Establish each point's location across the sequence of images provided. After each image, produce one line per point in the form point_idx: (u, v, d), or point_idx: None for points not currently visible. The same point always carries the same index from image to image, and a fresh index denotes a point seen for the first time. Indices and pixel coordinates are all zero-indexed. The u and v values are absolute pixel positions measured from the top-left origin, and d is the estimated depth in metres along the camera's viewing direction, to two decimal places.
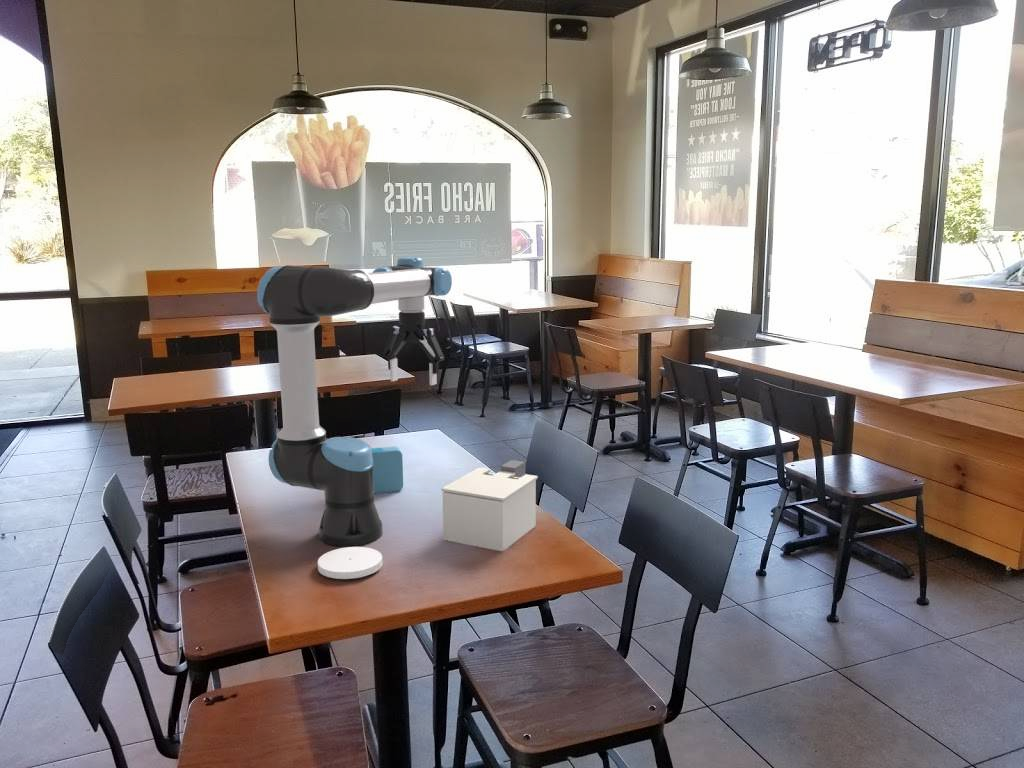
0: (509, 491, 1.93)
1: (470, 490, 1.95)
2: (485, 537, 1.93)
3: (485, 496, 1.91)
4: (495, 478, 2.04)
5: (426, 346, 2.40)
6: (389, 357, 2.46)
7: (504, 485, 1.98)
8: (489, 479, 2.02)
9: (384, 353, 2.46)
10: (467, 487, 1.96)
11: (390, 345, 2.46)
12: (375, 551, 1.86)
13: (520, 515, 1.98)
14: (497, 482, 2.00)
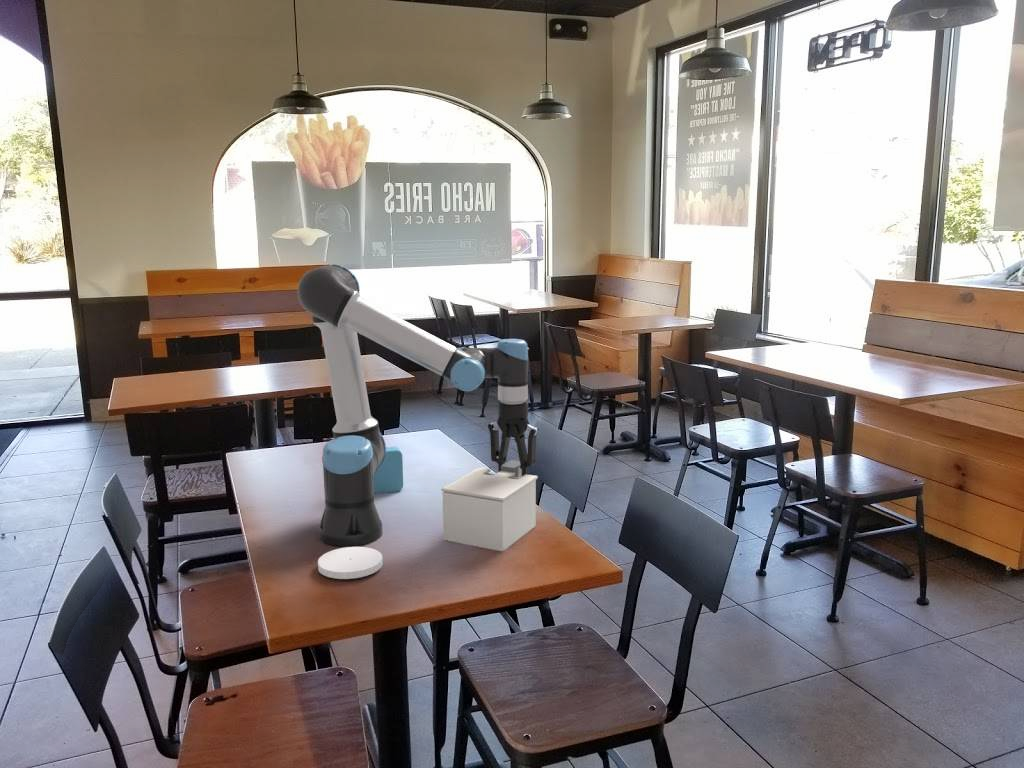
0: (509, 491, 1.93)
1: (470, 490, 1.95)
2: (485, 537, 1.93)
3: (485, 496, 1.91)
4: (495, 478, 2.04)
5: (522, 446, 2.08)
6: (500, 462, 2.11)
7: (504, 485, 1.98)
8: (489, 479, 2.02)
9: (493, 457, 2.12)
10: (467, 487, 1.96)
11: (496, 445, 2.12)
12: (375, 551, 1.86)
13: (520, 515, 1.98)
14: (497, 482, 2.00)
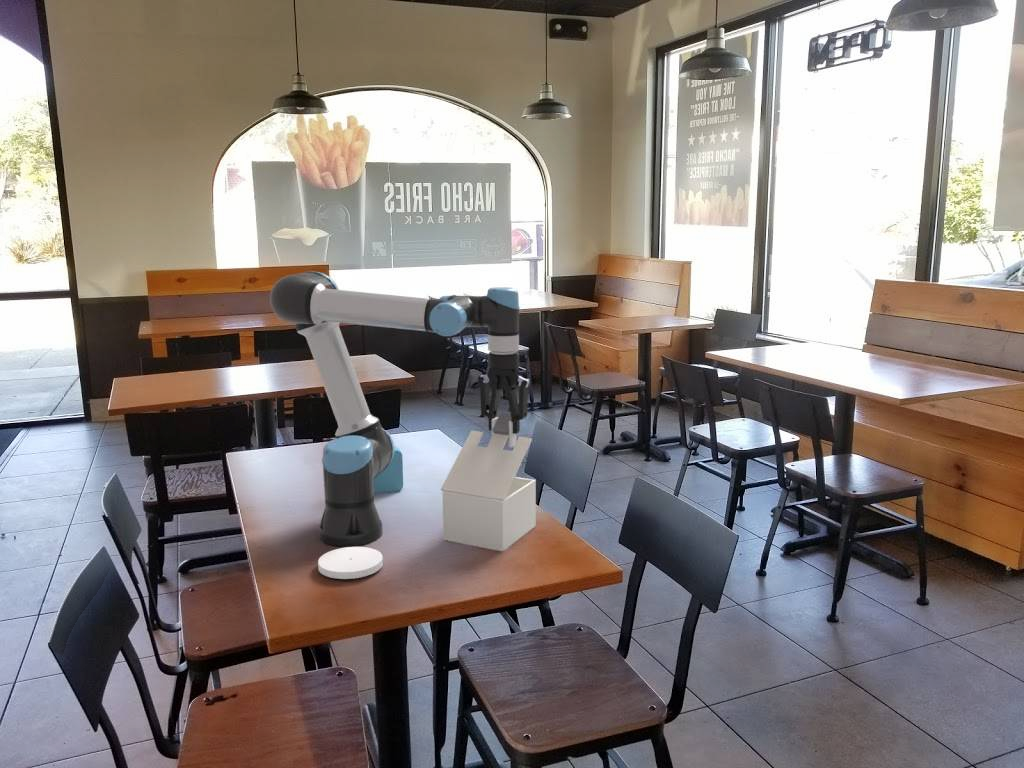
0: (506, 482, 1.92)
1: (468, 487, 1.94)
2: (485, 537, 1.93)
3: (485, 496, 1.91)
4: (489, 452, 2.00)
5: (513, 399, 2.01)
6: (490, 415, 2.04)
7: (500, 468, 1.95)
8: (484, 458, 1.99)
9: (483, 410, 2.05)
10: (465, 481, 1.95)
11: (486, 398, 2.05)
12: (375, 551, 1.86)
13: (520, 515, 1.98)
14: (492, 463, 1.97)
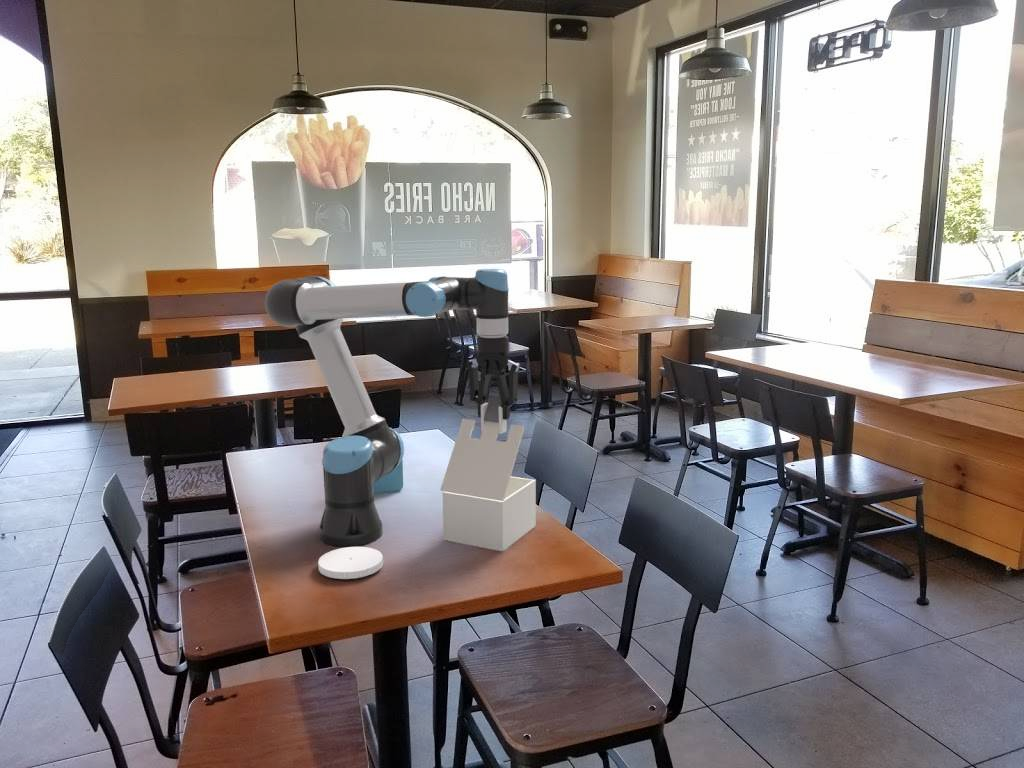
0: (504, 480, 1.90)
1: (467, 486, 1.93)
2: (485, 537, 1.93)
3: (484, 497, 1.91)
4: (484, 444, 1.97)
5: (503, 384, 1.96)
6: (479, 401, 1.98)
7: (496, 463, 1.93)
8: (479, 451, 1.96)
9: (472, 396, 1.99)
10: (463, 480, 1.94)
11: (475, 384, 1.99)
12: (376, 551, 1.86)
13: (520, 515, 1.98)
14: (488, 457, 1.95)
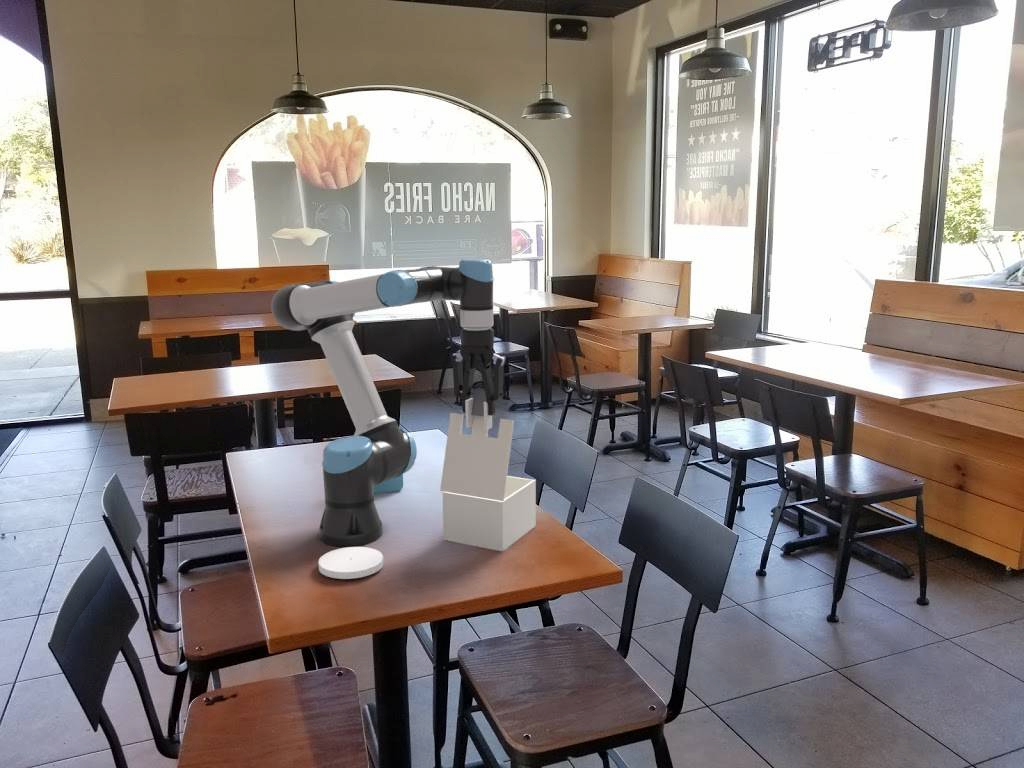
0: (501, 479, 1.89)
1: (466, 487, 1.93)
2: (485, 537, 1.93)
3: (484, 497, 1.91)
4: (476, 441, 1.93)
5: (488, 378, 1.89)
6: (464, 396, 1.91)
7: (491, 461, 1.91)
8: (472, 449, 1.93)
9: (456, 391, 1.92)
10: (461, 480, 1.93)
11: (459, 378, 1.92)
12: (376, 551, 1.86)
13: (520, 515, 1.98)
14: (482, 455, 1.92)
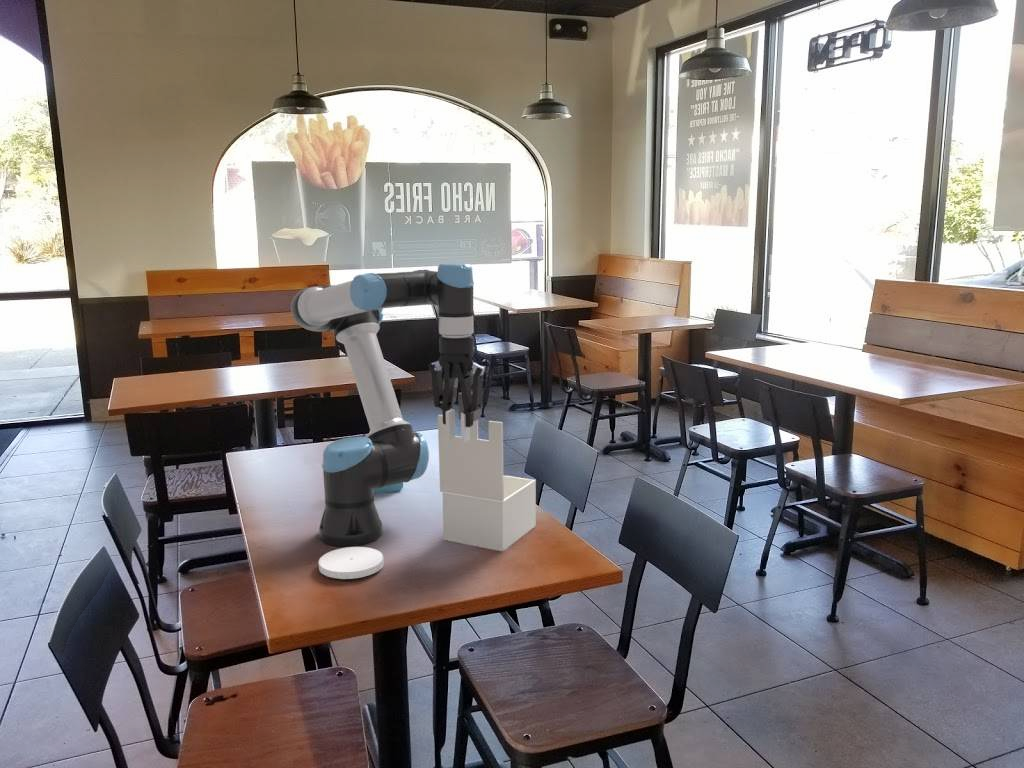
0: (498, 481, 1.88)
1: (465, 488, 1.92)
2: (485, 537, 1.93)
3: None
4: (467, 444, 1.89)
5: (467, 388, 1.80)
6: (444, 407, 1.83)
7: (486, 464, 1.88)
8: (465, 451, 1.90)
9: (436, 402, 1.83)
10: (459, 482, 1.92)
11: (439, 388, 1.83)
12: (376, 551, 1.86)
13: (520, 515, 1.98)
14: (475, 457, 1.89)
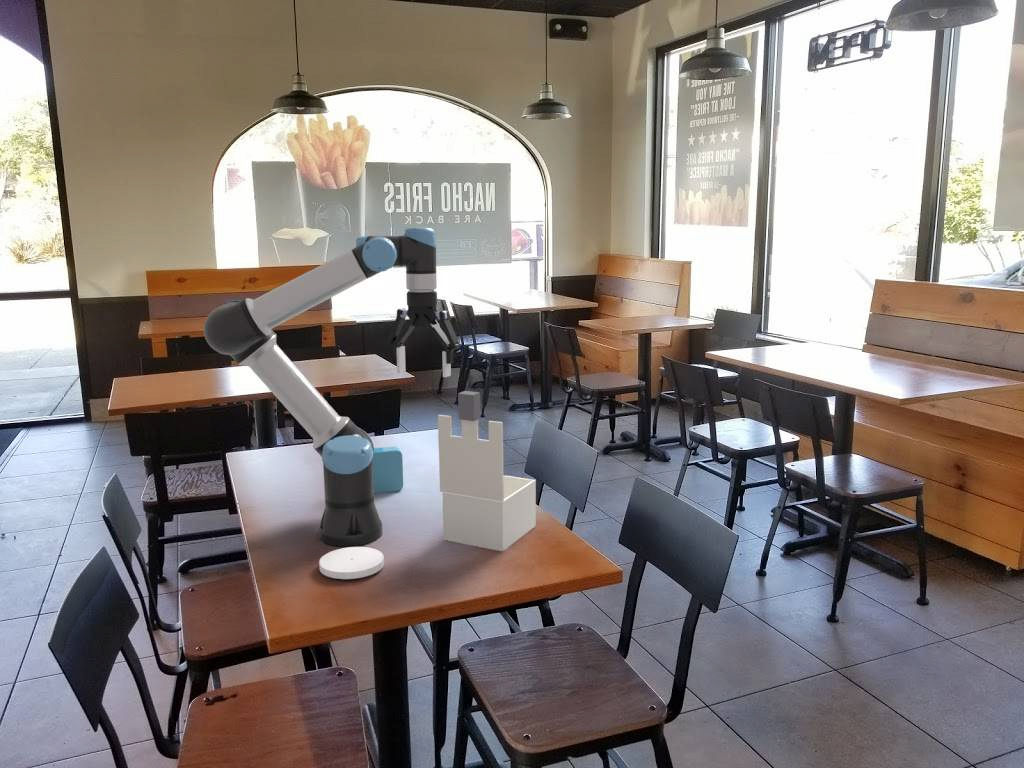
0: (498, 481, 1.88)
1: (465, 488, 1.92)
2: (485, 537, 1.93)
3: None
4: (467, 444, 1.89)
5: (439, 331, 2.05)
6: (395, 344, 2.11)
7: (486, 464, 1.88)
8: (465, 451, 1.90)
9: (390, 340, 2.12)
10: (459, 482, 1.92)
11: (397, 331, 2.11)
12: (377, 551, 1.86)
13: (520, 515, 1.98)
14: (475, 457, 1.89)
